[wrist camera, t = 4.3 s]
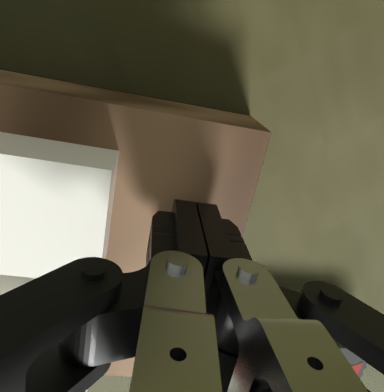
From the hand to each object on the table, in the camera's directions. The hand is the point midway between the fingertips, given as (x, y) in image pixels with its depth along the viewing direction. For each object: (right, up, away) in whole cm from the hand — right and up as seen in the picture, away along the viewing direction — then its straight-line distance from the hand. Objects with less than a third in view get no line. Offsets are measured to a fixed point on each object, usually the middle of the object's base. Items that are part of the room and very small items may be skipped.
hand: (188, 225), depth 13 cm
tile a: (-5, +1, 0) cm, 5 cm away
